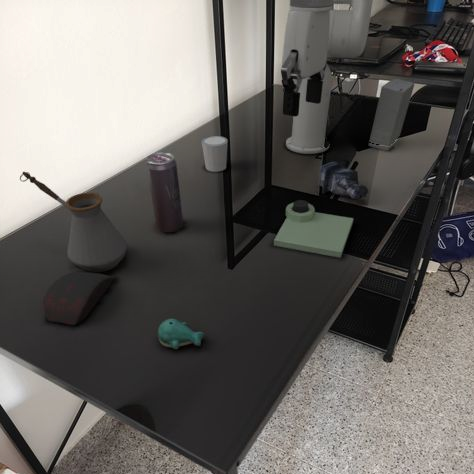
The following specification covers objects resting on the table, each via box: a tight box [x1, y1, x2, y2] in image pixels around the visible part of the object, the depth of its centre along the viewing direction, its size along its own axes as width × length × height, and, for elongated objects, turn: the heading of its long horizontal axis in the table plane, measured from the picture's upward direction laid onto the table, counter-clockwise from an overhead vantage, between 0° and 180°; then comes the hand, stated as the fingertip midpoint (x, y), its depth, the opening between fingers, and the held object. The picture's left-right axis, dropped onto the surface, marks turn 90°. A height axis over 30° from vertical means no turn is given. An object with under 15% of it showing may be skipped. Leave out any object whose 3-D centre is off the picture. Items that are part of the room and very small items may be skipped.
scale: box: [273, 202, 354, 259], centre depth 91 cm, size 15×14×3 cm
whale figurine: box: [157, 318, 205, 350], centre depth 69 cm, size 6×7×4 cm
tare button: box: [292, 199, 309, 213], centre depth 94 cm, size 3×3×2 cm
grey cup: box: [201, 135, 228, 173], centre depth 114 cm, size 7×7×7 cm
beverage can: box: [145, 152, 184, 234], centre depth 90 cm, size 6×6×15 cm
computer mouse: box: [42, 271, 114, 326], centre depth 77 cm, size 8×14×4 cm, turn 165°
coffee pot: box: [19, 171, 128, 273], centre depth 83 cm, size 21×12×15 cm, turn 59°
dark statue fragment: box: [317, 160, 369, 201], centre depth 102 cm, size 6×13×6 cm, turn 43°
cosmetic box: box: [368, 78, 415, 152], centre depth 120 cm, size 8×7×16 cm
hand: (302, 108), depth 86 cm, fingers open, 9 cm apart
